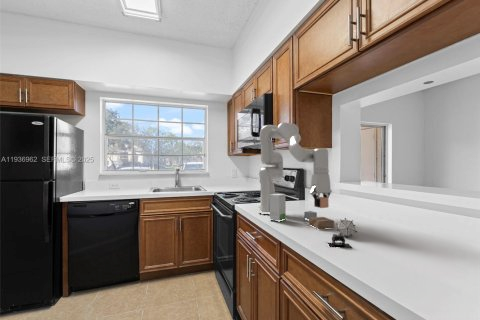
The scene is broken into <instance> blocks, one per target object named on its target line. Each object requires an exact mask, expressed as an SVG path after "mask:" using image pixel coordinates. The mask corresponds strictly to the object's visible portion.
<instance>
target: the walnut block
mask: <svg viewBox="0 0 480 320" xmlns="http://www.w3.org/2000/svg"><path fill="white" fill-rule="evenodd" d="M309 224H310V225H312V226H314V227H316V228H318V229H325V228H334V229H335V220H334V219H330V218H328V217H325V216H317V217H312V218H309V221H308V225H309ZM325 230H326V229H325Z"/></svg>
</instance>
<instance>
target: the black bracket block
mask: <svg viewBox="0 0 480 320" xmlns="http://www.w3.org/2000/svg"><path fill="white" fill-rule="evenodd" d="M327 243H328V244H329V246H330V247H329V248H336V247H340V248H339V249H341V248H342V249H353V246H352V245H351V244H350V243H346V238H345V235H342V234H340V233H339V234H336V233H335V234H334V233H332V236H331V242H327Z"/></svg>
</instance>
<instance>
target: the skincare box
mask: <svg viewBox="0 0 480 320" xmlns="http://www.w3.org/2000/svg"><path fill="white" fill-rule="evenodd" d="M286 210H287V209H286V194H285V193H275V194H270V215H269V219H273V220H282V219H285V218H286V217H287V215H286V214H287V213H286Z"/></svg>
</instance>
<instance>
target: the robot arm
mask: <svg viewBox="0 0 480 320" xmlns="http://www.w3.org/2000/svg"><path fill="white" fill-rule="evenodd" d="M299 130H300V128H299V126H298V125H297V124H295V123H290V122H281V123H279V124H278V125H275V124H274V125H273V124H266V125H263V126H262V127H261V129H260V131H259V141H260V157H261V158H260V159H261V160H260V161H261V163H262V164H263V165H266V166H264V167H261V169H259V173H258V175H259V182H260V206H259V207H258V208H259V211H260V210H261V211H262V212H270V194H276V193H275V192H276V191H275V188H276V187H275V184H274V181H280V180H282V178H283V176H284V160H283V159H284V158H283V156H282V154H281V153H280V152H279V151H274V142H273V141H272V139H279V140H282V139H283V140H284V141H285V142H286V143H287V144H288V151H289V153H290V154H291V156H292V157H293V158H294V159H295V160H296V161H297V162H299V163H309V164H311V163H313V164H312V165H313V174H312V175H311V180H310V191H309V194H310V195H311V197H313V200H314V199H315V206H317V207H316V208H318V207H320V199H319V197H321V196H320V195H321V194H322V197H326V198H328V199H329V198H330V196H331V194H332V192H333V191H332V189H331V178H330V173H329V172H330V171H329V150H328V149H327V148H320V147H319V148H318V147H317V148H314V149H312V148H311V149H310V148H303V147H302V146H301V145H300V144H299V143H300V142H301V140H302V137H301V135H300V133H299V132H300V131H299Z"/></svg>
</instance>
